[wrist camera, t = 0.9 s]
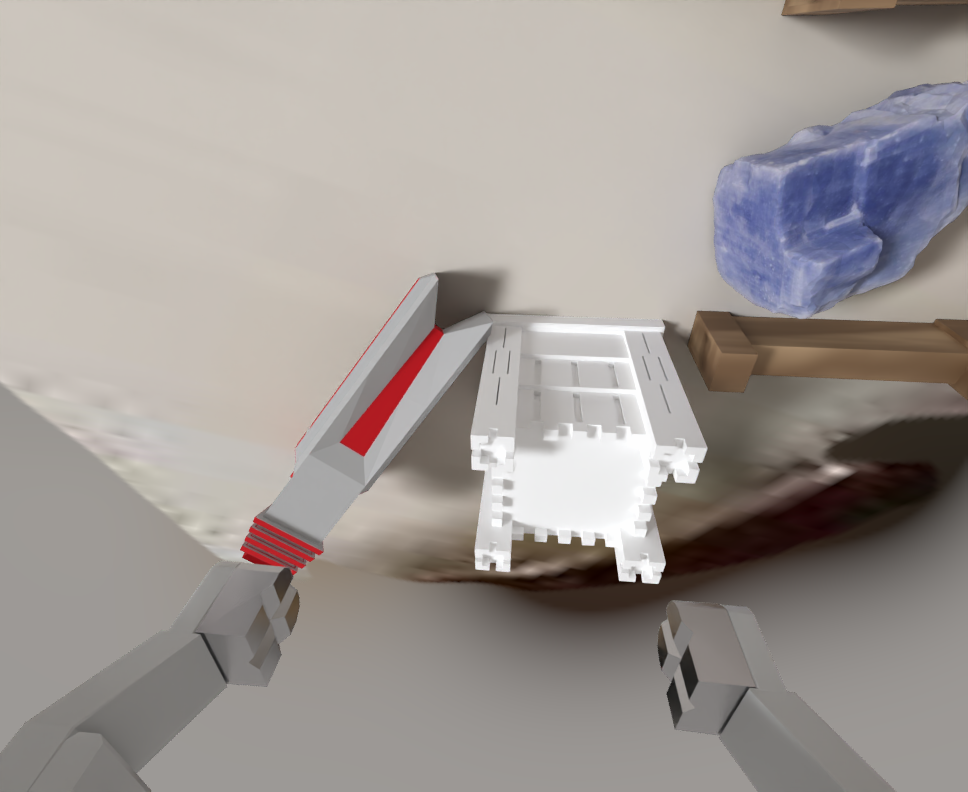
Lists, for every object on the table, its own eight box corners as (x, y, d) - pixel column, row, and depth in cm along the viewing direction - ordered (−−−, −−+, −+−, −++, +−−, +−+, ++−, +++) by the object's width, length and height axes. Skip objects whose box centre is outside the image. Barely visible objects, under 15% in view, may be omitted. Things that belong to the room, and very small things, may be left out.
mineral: (786, 357, 29) (757, 212, 24) (719, 292, 37) (686, 171, 32) (1064, 242, 26) (1104, 39, 20) (927, 196, 33) (929, 40, 28)
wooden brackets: (803, -64, 25) (871, -91, 20) (1234, -76, 23) (1431, -109, 18) (687, 346, 40) (709, 391, 34) (945, 356, 38) (1009, 405, 33)
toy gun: (477, 301, 49) (504, 331, 35) (325, 499, 54) (295, 595, 40) (423, 258, 47) (428, 271, 33) (269, 468, 52) (217, 559, 38)
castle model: (631, 447, 47) (662, 586, 35) (488, 439, 48) (471, 571, 36) (661, 318, 38) (715, 443, 27) (487, 313, 40) (464, 430, 28)
